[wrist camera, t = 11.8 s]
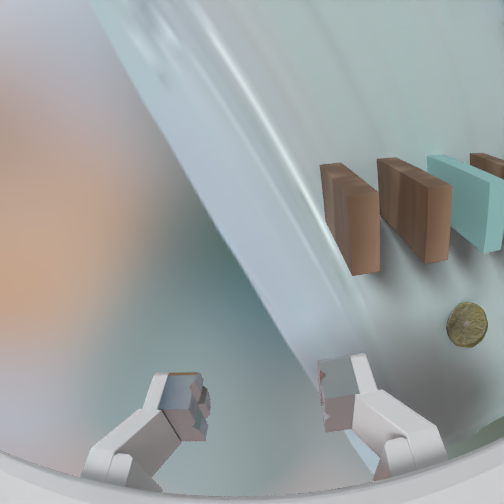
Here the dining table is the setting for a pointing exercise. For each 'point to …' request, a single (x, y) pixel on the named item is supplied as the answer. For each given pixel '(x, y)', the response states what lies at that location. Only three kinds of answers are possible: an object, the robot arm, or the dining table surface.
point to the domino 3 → (473, 201)
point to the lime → (467, 325)
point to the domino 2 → (416, 207)
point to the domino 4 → (488, 164)
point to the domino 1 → (352, 217)
